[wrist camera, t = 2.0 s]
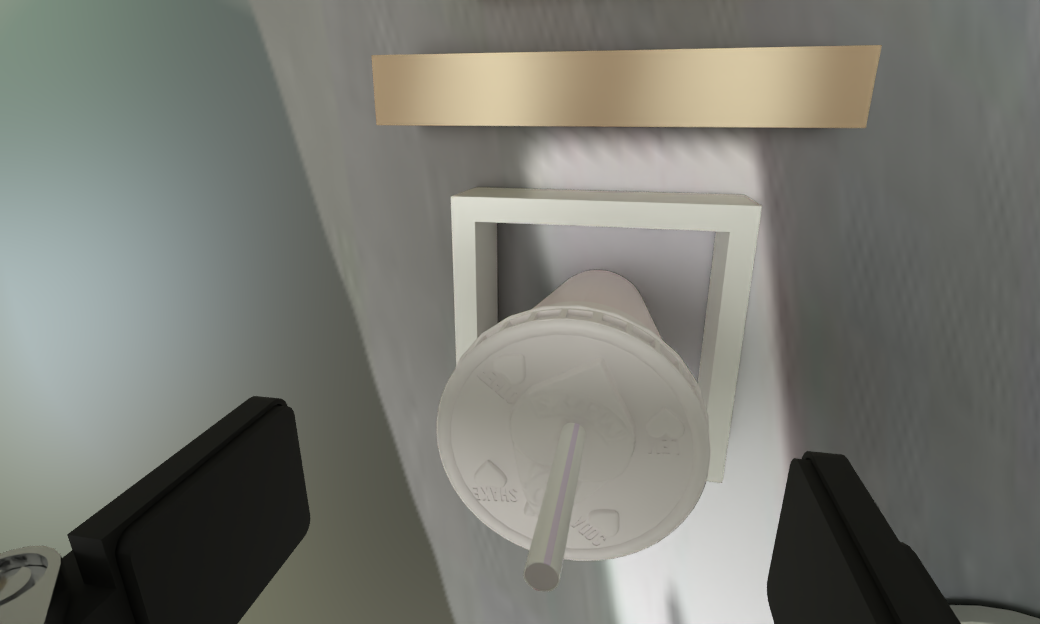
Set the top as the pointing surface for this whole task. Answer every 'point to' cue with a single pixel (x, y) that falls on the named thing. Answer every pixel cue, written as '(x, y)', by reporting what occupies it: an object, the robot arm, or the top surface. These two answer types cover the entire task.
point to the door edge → (631, 88)
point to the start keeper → (622, 209)
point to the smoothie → (575, 428)
